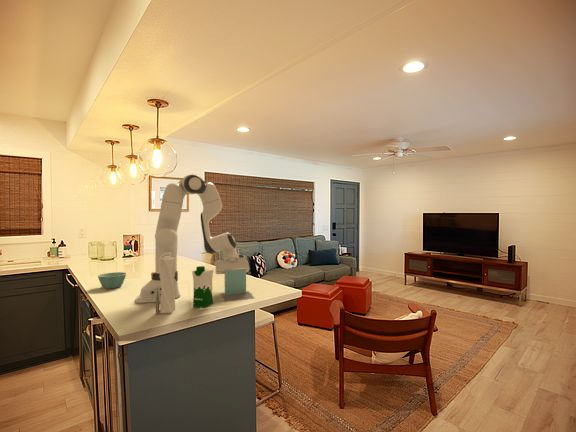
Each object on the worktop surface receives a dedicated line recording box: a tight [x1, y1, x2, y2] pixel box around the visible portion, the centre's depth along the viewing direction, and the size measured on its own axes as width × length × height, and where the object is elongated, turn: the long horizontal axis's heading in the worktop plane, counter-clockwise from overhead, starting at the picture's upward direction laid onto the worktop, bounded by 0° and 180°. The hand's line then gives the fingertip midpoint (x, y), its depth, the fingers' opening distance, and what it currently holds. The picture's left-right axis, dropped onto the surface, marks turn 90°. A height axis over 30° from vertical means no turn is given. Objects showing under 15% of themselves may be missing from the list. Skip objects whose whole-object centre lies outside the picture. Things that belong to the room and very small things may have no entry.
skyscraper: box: [154, 253, 176, 316], centre depth 143 cm, size 8×8×28 cm
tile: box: [223, 268, 247, 295], centre depth 172 cm, size 12×2×14 cm, turn 110°
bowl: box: [97, 271, 127, 290], centre depth 190 cm, size 16×16×8 cm
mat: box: [220, 290, 256, 302], centre depth 167 cm, size 16×16×1 cm
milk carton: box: [191, 265, 214, 309], centre depth 151 cm, size 9×9×20 cm
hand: (234, 278), depth 176 cm, fingers closed
